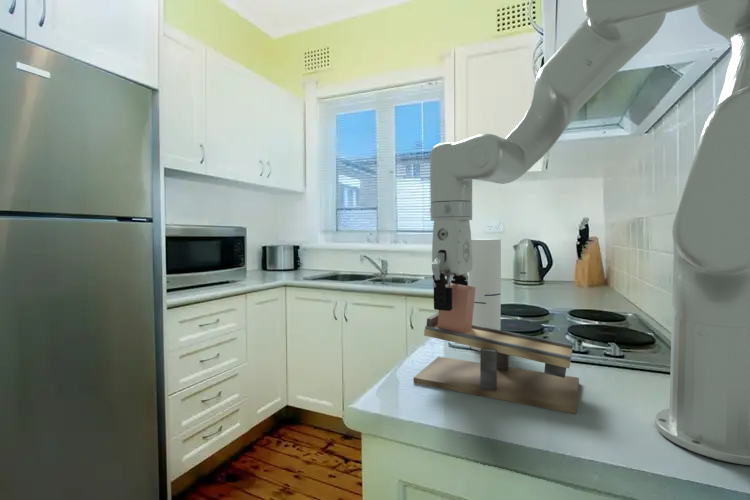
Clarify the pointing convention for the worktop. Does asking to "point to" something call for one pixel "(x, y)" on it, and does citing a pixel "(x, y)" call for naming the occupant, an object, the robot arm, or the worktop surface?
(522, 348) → the beam
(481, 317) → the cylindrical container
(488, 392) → the stand
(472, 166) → the robot arm
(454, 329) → the block
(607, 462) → the worktop surface
